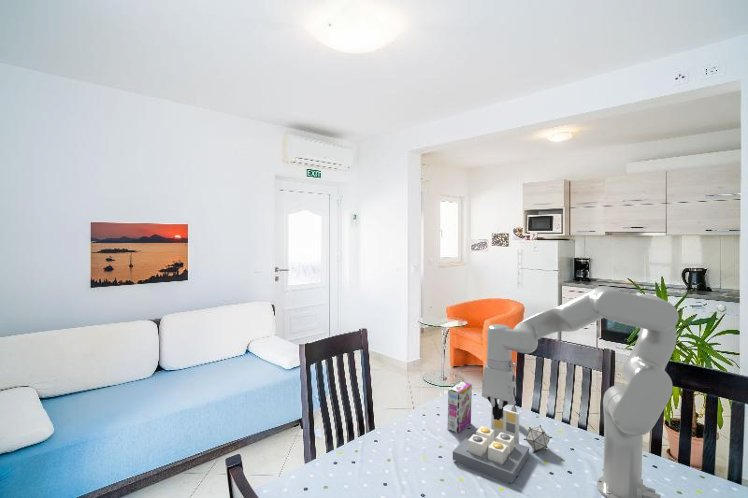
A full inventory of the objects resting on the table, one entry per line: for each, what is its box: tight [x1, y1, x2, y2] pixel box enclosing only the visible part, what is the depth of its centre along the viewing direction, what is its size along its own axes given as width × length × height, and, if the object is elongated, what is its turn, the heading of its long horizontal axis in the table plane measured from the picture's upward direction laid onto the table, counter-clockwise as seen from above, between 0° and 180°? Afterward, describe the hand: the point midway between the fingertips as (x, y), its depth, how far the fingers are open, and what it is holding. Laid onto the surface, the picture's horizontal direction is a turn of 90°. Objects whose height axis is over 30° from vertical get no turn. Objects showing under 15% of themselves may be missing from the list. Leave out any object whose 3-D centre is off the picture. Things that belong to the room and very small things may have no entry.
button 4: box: [488, 441, 508, 465], centre depth 126 cm, size 5×5×5 cm
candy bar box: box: [447, 381, 473, 434], centre depth 152 cm, size 11×5×16 cm, turn 139°
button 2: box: [468, 434, 487, 457], centre depth 130 cm, size 5×5×5 cm
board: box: [452, 429, 530, 484], centre depth 131 cm, size 20×18×4 cm
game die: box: [523, 424, 553, 454], centre depth 136 cm, size 9×8×10 cm
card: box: [490, 406, 520, 444], centre depth 142 cm, size 10×3×12 cm, turn 53°
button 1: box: [476, 425, 494, 447], centre depth 135 cm, size 5×5×5 cm
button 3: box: [496, 432, 514, 455], centre depth 131 cm, size 5×5×5 cm
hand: (497, 418), depth 125 cm, fingers closed
